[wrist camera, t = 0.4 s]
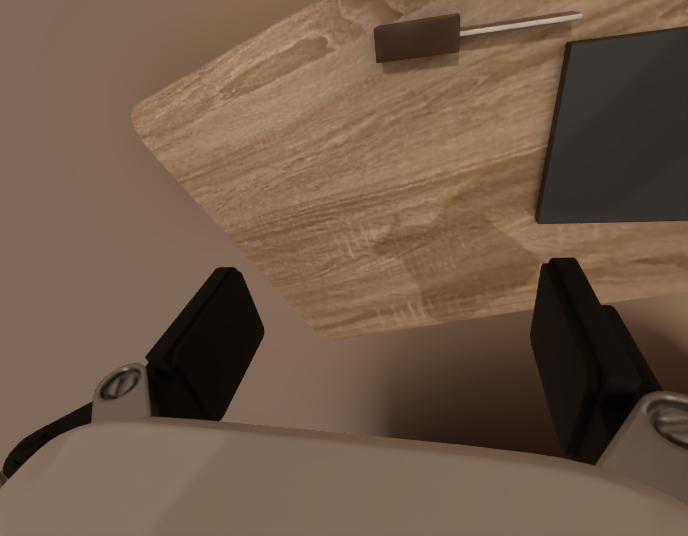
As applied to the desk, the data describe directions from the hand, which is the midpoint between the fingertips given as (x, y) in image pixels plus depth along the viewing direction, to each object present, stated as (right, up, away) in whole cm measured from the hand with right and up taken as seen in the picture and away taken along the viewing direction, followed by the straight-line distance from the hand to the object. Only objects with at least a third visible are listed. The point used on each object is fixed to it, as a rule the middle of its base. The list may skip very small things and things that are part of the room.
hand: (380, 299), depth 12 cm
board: (+26, +14, +23) cm, 37 cm away
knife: (+9, +22, +21) cm, 32 cm away
